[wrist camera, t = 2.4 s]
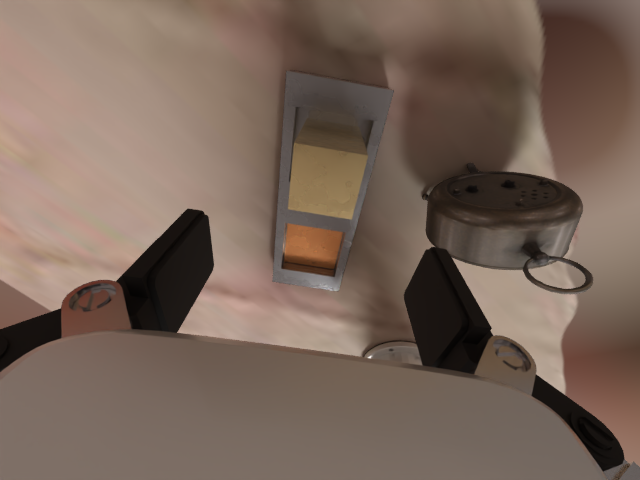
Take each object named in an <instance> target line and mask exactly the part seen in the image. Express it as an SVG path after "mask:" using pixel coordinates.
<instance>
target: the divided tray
mask: <svg viewBox="0 0 640 480" xmlns="http://www.w3.org/2000/svg"><path fill="white" fill-rule="evenodd" d="M393 92H394V90H392V89H390V88H386V87H381V86H376V85H370V84H365V83H359V82H354V81H348V80H343V79H338V78H332V77H327V76H321V75H316V74H311V73H305V72H300V71H294V70H288V71H286V85H285V100H284V115H283V130H282V146H281V161H280V176H279V191H278V206H277V221H276V236H275V251H274V267H273V282H279V283H285V284H292V285H299V286H305V287H312V288H319V289H325V290H332V291H339V288H340V284H341V280H342V277H343V273H344V270H345V266H346V262H347V259H348V255H349V252H350V248H351V244H352V241H353V237H354V233H355V230H356V226H357V223H358V219H359V215H360V212H361V208H362V205H363V201H364V197H365V194H366V190H367V186H368V183H369V179H370V176H371V172H372V168H373V165H374V161H375V158H376V154H377V150H378V147H379V143H380V139H381V136H382V132H383V129H384V125H385V121H386V118H387V114H388V111H389V107H390V103H391V100H392V96H393ZM307 118H311V119H316V120H322V121H327V122H333V123H339V124H344V125H350V126H356V127H359V128H360V131H361V135H362V138H363V141H364V144H365V147H366V150H367V153H368V159H367V162H366V166H365V170H364V174H363V178H362V182H361V186H360V189H359V193H358V197H357V201H356V205H355V209H354V213H353V216H352V220H351V219H345V218H339V217H332V216H326V215H320V214H314V213H308V212H302V211H295V210H289V209H288V202H289V191H290V180H291V169H292V159H293V148H294V142H295V140H296V138H297V136H298V134H299V132H300V130H301V129H302V127H303V125H304V123H305V121H306V119H307Z"/></svg>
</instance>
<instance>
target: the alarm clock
mask: <svg viewBox="0 0 640 480" xmlns="http://www.w3.org/2000/svg"><path fill="white" fill-rule="evenodd" d="M467 166H468V169H469V172H470V173H469V174H464V175H460V176H456V177H453V178H450V179H448V180H445V181H443V182H441V183H440V184H438V185H437V186H436V187H435V188H434V189H433V190H432V192H431V193H430V195H429V196H428V195H427V194H424V195H423V196H422V199H423V200H427V201H428V206H427V221H426V234H427V237H428V239H429V241H430V242H431V243H432V244H433V245H434V246H435V247H436V248H443V249H447V251H448V252H449V254H450V256H451V257H453V258H455V259H457V260H460V261H463V262H465V263H469V264H472V265H476V266H481V267H485V268H491V269H500V270H523V272H524V274H525V276H526V277H527V279H528V280H529V281H531V282H532V283H533V284H535V285H536V286H538V287H540V288H543V289H545V290H548V291H550V292H554V293H559V294H578V293H581V292H585V291H586V290H588V289H589V288H590V287H591V286H592V284H593V277H592V274H591V273H590V272H589V271H588V270H587V269H586V268H584V267H583V266H581V265H580V264H578V263H576V262H574V261H571V260H568V259H565V258H563V257H564V256H565V254H566V253H567V251H568V250H569V245H570V242H571V240H572V237H573V235H574V232H575V230H576V227H577V225H578V222H579V220H580V217H581V214H582V212H583V204H582V201H581V199H580V198H579V196H578V195H577V194H576V193H575V192H574V191H573V190H572V189H570V188H569V187H567V186H565V185H563V184H562V183H559V182H557V181H554V180H551V179H548V178H545V177H541V176H536V175H531V174H525V173H516V172H478V170H477V169H476V167H475V165H474V164H473V163H468V164H467ZM556 261H561V262H564V263H567V264H569V265H572V266H574V267H576V268H578V269H579V270H581V271H582V272H583V273H584V275H585V277H586V281H585V283H584V285H582V286H581V287H578V288H573V289H562V288H557V287H553V286H549V285H546V284H544V283H542V282H540V281H538V280H536V279H535V278H534V277H533V276H532V275H531V274H530V273H529V271H528V269H533V268H538V267H543V266H546V265H549V264H552V263H554V262H556Z"/></svg>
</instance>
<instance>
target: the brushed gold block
mask: <svg viewBox="0 0 640 480" xmlns="http://www.w3.org/2000/svg"><path fill="white" fill-rule="evenodd" d="M367 159H368V153H367V150H366V147H365V144H364V141H363V138H362V135H361V131H360V128H359V127H356V126H350V125H344V124H339V123H333V122H327V121H322V120H316V119H311V118H307V119H306V121H305V123H304V125H303V127H302V129H301V130H300V132H299V134H298V136H297V138H296V140H295V142H294V148H293V159H292V169H291V180H290V191H289V202H288V209H289V210H295V211H302V212H308V213H314V214H320V215H326V216H332V217H339V218H345V219H351V220H352V216H353V213H354V209H355V205H356V201H357V197H358V193H359V189H360V186H361V182H362V178H363V174H364V170H365V166H366V162H367Z"/></svg>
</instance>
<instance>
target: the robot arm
mask: <svg viewBox="0 0 640 480" xmlns="http://www.w3.org/2000/svg"><path fill="white" fill-rule="evenodd" d="M213 267H214V261H213V252H212V243H211V235H210V226H209V218H208V216H207V215H205V214H204V212H203V211H200V210H194V209H187V210H186V211H185V212H184V213H183V214H182V215H181V216H180V217H179V218H178V219H177V220H176V221H175V222H174V223H173V224H172V225H171V226H170V227H169V228H168V229H167V230H166V231H165V232H164V233H163V234H162V235H161V236H160V237H159V238H158V239H157V240H156V241H155V242H154V243H153V244H152V245H151V246H150V247H149V248H148V249H147V250H146V251H145V252H144V253H143V254H142V255H141V256H140V257H139V258H138V259H137V260H136V261H135V262H134V263H133V264H132V266H131V267H130V268H129V269H128V270H127V271H126V272H125V273H124V274H123V275H122V276H121V277H120V278H119V279H118V280H117V281H116V282H115V281H111V280H98V281H92V282H89V283H86V284H83V285H81V286H79V287H78V288H76V289H74V290H73V291H71V292H70V293H69V294H68V295H67V296H66V297H65V298H64V300H63V302H62V306H61V309H58V310H55V311H52V312H50V313H47V314H44V315H41V316H38V317H35V318H32V319H29V320H26V321H23V322H21V323H18V324H15V325H12V326H9V327H6V328H3V329H0V480H640V467H639V466H638V465H637V464H636V463H635V462H631V463H627V461H626V460H625V459H624V454H623V450H622V448H621V446H620V444H619V442H618V440H617V439H616V438H615V436H614V435H613V433H612V432H611V431H610V430H609V429H608V428H607V427H606V426H605V425H604V424H603V423H602V422H601V421H599V420H598V419H597V418H596V417H595V416H593V415H592V414H590V413H589V412H587V411H586V410H585V409H583V408H582V407H581V406H579V405H578V404H577V403H575V402H574V401H572V400H571V399H570V398H568V397H567V396H565V395H564V394H563V393H561V392H560V391H558V390H557V389H556V388H554V387H553V386H551V385H550V384H549V383H547V382H546V381H544V380H543V379H542V378H540V377H539V376H538V375H536V364H535V362H534V359H533V358H532V357H531V355H530V354H529V353H528V352H527V351H526V350H525V349H524V348H523V347H522V346H521V345H520V344H518V343H517V342H515V341H514V340H512V339H510V338H507V337H504V336H498V335H495V336H493V335H492V333H491V331H490V330H491V329H492V328H491V326H490V325H489V323H488V321H487V319H486V317H485V316H484V314H483V312H482V310H481V309H480V307H479V305H478V303H477V302H476V300H475V298H474V296H473V295H472V293H471V291H470V289H469V288H468V286H467V284H466V282H465V280H464V279H463V277H462V275H461V273H460V272H459V270H458V268H457V266H456V265H455V263H454V261H453V259H452V258H451V256H450V254H449V252H448V251H447V249H443V248H436V247H431V248H430V249H429V250H426V251H425V253H424V255H423V257H422V259H421V261H420V263H419V265H418V267H417V269H416V271H415V273H414V275H413V277H412V279H411V281H410V283H409V285H408V287H407V289H406V291H405V294H404V300H405V304H406V308H407V311H408V315H409V318H410V322H411V326H412V329H413V333H414V337H415V340H416V344H415V343H410V342H389V343H384V344H381V345H378V346H376V347H374V348H372V349H371V350H370V351H368V352H367V353H366V354H365V356H364V357H359V356H352V355H345V354H337V353H330V352H323V351H315V350H308V349H300V348H293V347H285V346H278V345H270V344H263V343H255V342H247V341H239V340H232V339H224V338H216V337H208V336H200V335H191V334H182V333H177V332H178V330H179V328H180V327H181V325H182V323H183V321H184V320H185V318H186V316H187V314H188V313H189V311H190V309H191V307H192V306H193V304H194V302H195V301H196V299H197V297H198V295H199V294H200V292H201V290H202V288H203V287H204V285H205V283H206V281H207V280H208V278H209V276H210V274H211V273H212V271H213Z"/></svg>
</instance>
